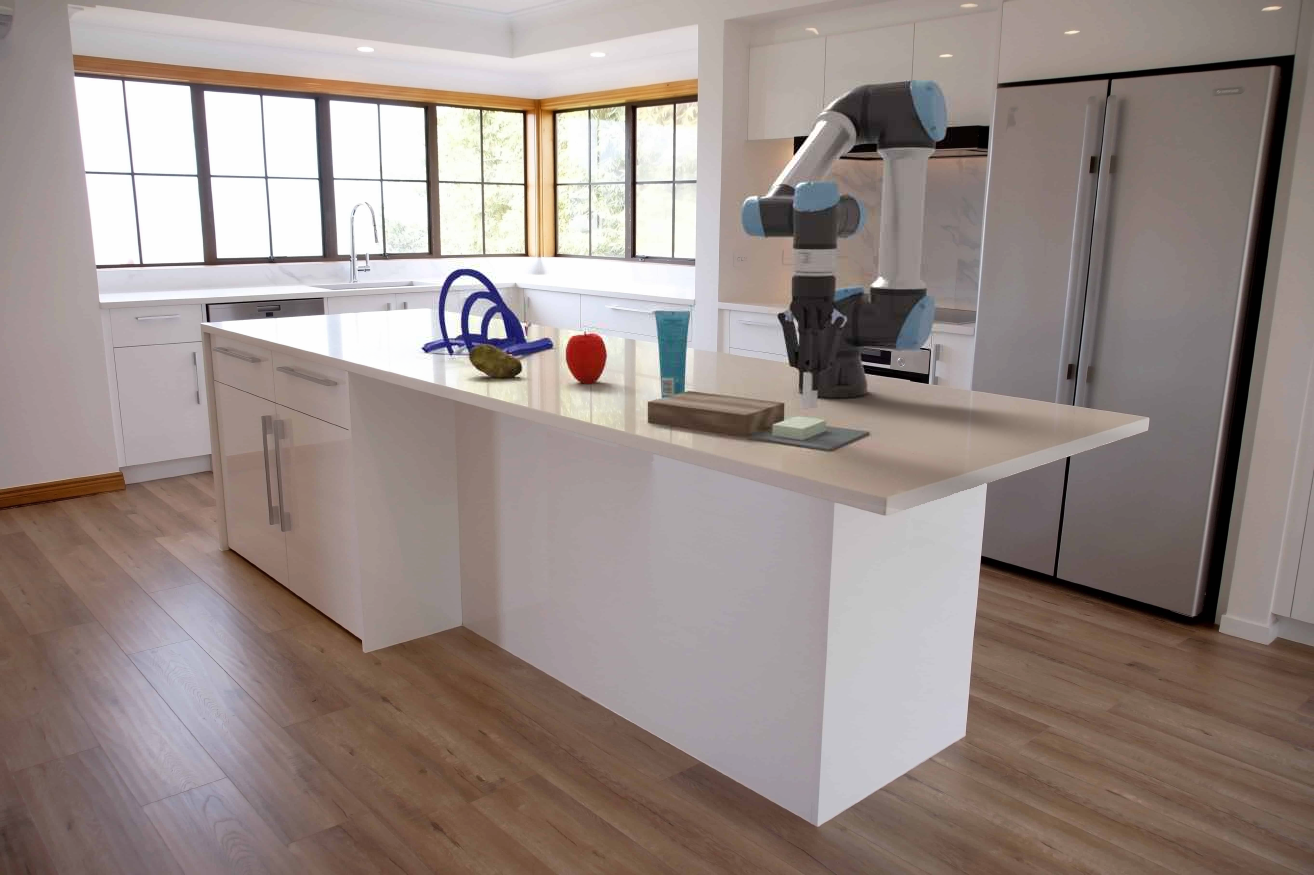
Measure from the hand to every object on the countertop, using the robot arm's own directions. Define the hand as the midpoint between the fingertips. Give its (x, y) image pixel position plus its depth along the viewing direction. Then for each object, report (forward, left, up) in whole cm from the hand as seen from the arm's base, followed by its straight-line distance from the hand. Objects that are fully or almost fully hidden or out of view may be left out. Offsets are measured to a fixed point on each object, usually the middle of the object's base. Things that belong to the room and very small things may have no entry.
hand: (809, 407), depth 172 cm
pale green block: (0, -2, -3) cm, 3 cm away
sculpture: (-46, -130, -6) cm, 138 cm away
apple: (-21, -70, -5) cm, 73 cm away
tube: (-14, -40, -5) cm, 43 cm away
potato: (-14, -94, -6) cm, 95 cm away
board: (0, -20, -5) cm, 21 cm away
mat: (0, 0, -5) cm, 5 cm away
